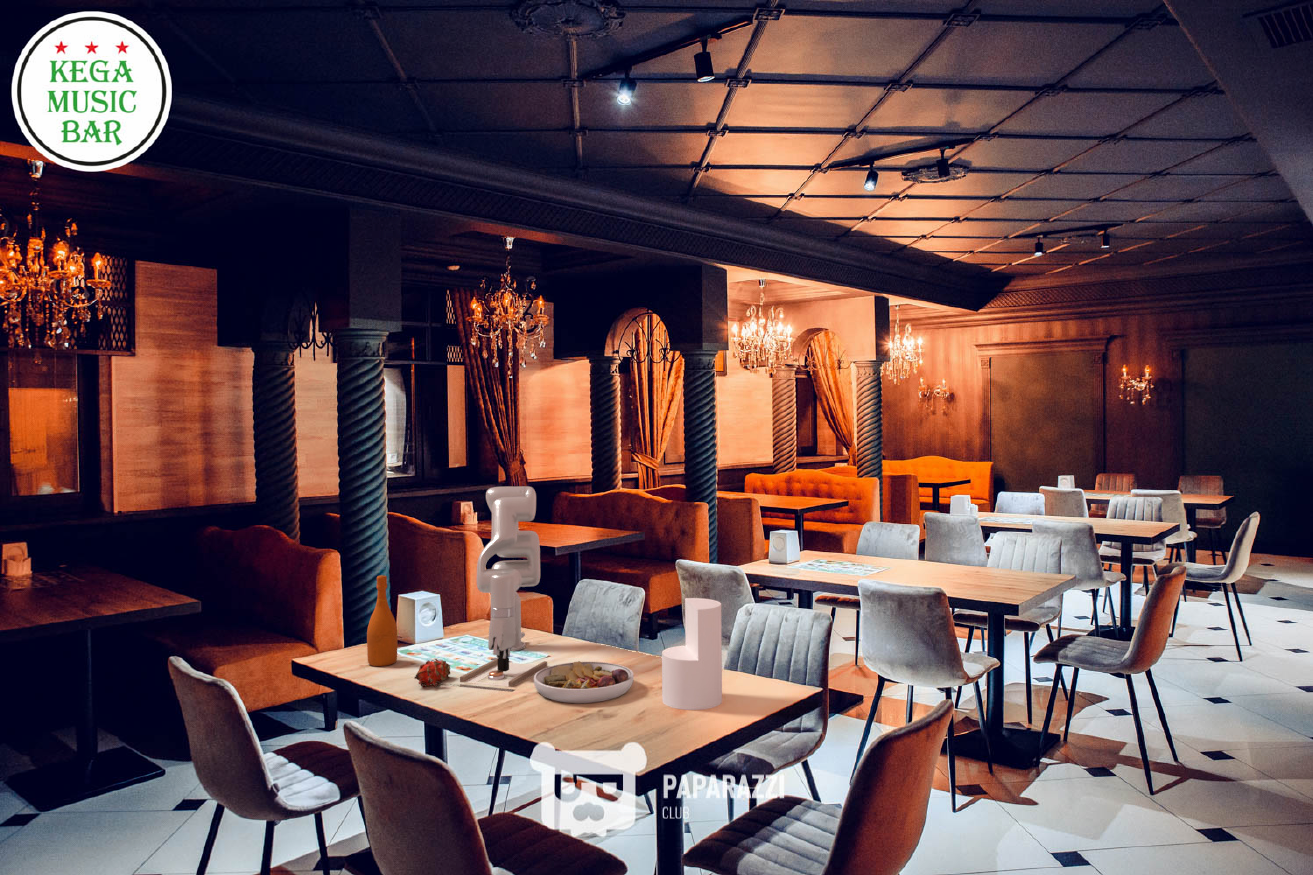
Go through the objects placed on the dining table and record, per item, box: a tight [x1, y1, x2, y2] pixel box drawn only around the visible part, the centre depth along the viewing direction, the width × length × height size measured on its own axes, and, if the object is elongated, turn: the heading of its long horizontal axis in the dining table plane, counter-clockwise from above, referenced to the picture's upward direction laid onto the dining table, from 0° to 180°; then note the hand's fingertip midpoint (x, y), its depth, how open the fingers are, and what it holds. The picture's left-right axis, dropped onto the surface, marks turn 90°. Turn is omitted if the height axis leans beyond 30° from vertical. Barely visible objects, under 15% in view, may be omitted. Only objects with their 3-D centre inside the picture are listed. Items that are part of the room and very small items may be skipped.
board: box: [459, 657, 548, 693], centre depth 271 cm, size 24×18×3 cm
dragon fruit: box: [414, 658, 451, 688], centre depth 265 cm, size 8×8×12 cm
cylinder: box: [661, 597, 723, 711], centre depth 247 cm, size 17×17×28 cm
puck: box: [487, 670, 505, 681], centre depth 267 cm, size 5×5×3 cm
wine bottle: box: [366, 574, 398, 667], centre depth 290 cm, size 10×10×30 cm
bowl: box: [533, 660, 635, 704], centre depth 258 cm, size 30×30×8 cm
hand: (503, 670), depth 270 cm, fingers closed
